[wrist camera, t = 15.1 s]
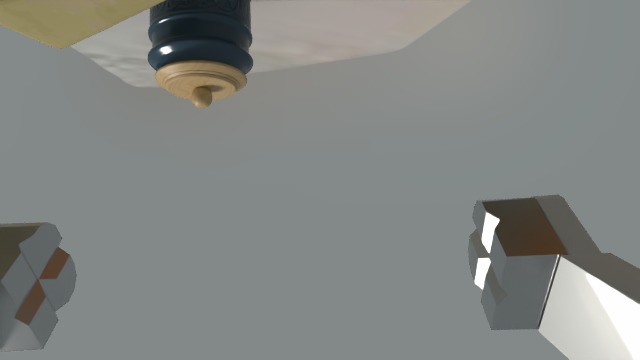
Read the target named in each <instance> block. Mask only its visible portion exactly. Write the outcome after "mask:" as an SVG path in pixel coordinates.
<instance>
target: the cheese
mask: <svg viewBox="0 0 640 360" xmlns="http://www.w3.org/2000/svg"><path fill="white" fill-rule="evenodd" d="M163 1H165V0H0V25H2V26H5V27H7V28H9V29H12V30H14V31H16V32H18V33H21V34H23V35H25V36H28V37H30V38H33V39H35V40H37V41H39V42H42V43H44V44H47V45H49V46H52V47H55V48H60V49H62V48H66V47H69V46H71V45H73V44H75V43H77V42H79V41H81V40H83V39H85V38H88V37H90V36H92V35H94V34H97V33H99V32H101V31H103V30H105V29H107V28H109V27H111V26H113V25H115V24H117V23H119V22H121V21H123V20H125V19H128V18H130V17H132V16H134V15H136V14H138V13H140V12H142V11H144V10H146V9H149V8H151V7H153V6H155V5H157V4H159V3H161V2H163Z"/></svg>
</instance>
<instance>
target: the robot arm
mask: <svg viewBox="0 0 640 360" xmlns="http://www.w3.org/2000/svg"><path fill="white" fill-rule="evenodd" d="M473 220H474V223H475V225H476V228H477V229H476V230H475V231H474V232H473V233H472V234H471V235H470V239H469V248H468V251H469V265H470V269H471V274H472V277H473V280H474V283H475V284H477V285H478V286H479V287H481V288H482V289H483V292H482V298H481V303H482V305H483V308H484V311H485V314H486V317H487V319H488V322H489V324H490V328H491V330H507V329H508V330H509V329H539V332H540V333H541V334H542V335H543V336H544V337H545V338H547V339H548V340H549V341H550V342H551V343H552V344H553V345H554V346H555V347H557V348H558V349H559V350H560V351H561V352H562V353H563V354H564V355H565V356H566V357H567V358H568V359H570V360H640V269H639V268H637V267H635V266H633V265H631V264H629V263H628V262H626V261H624V260H622V259H621V258H619V257H617V256H615V255H613V254H611V253H601V251H600V250H599V248H598V247H597V246H596V244H595V243H594V241H593V240H592V238H591V237H590V236H589V234H588V233H587V231H586V230H585V228H584V227H583V225H582V224H581V223H580V221H579V220H578V218H577V217H576V215H575V214H574V212H573V211H572V210H571V208H570V207H569V205H568V204H567V202H566V201H565V199H564V198H563V197H561V196H560V195H547V196H535V197H530V198H516V199H515V198H514V199H497V200H480V201H477V202H476V204H475V206H474V212H473ZM61 240H62V237H61V236H60V234H59V232H58V230H57V228H56V226H55V225H53V224H50V223H13V224H0V352H9V351H23V350H36V349H43V348H44V346H45V344H46V342H47V341H48V339H49V337H50V335H51V333H52V331H53V329H54V328H55V326H56V324H57V322H58V317H57V314H56V310H58V309H59V308H61V307H62V306H63V305H65V304H66V303H67V302H68V301H69V299H70V297H71V295H72V293H73V291H74V288H75V281H76V271H75V265H74V262H73V260H72V258H71V256H70V255H69V254H68V253H66V252H65V251H64V250H62V249H61V248H59V244H60V242H61Z"/></svg>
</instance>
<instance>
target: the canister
mask: <svg viewBox="0 0 640 360" xmlns="http://www.w3.org/2000/svg"><path fill="white" fill-rule="evenodd" d="M250 2H251V0H165V1H163V2H161V3H159V4H157V5H155V6H153V7H151V8H150V27H149V30H148V36H149V38H150V40H151V42H152V47H153V48H152V49H151V50H150V52H149V54H148V62H149V64H150V65H151V66H152V67H153V68H154V69H155V70H156V73H155V80H156V82H157V83H158V84H159V85H160V86H162V87H163V88H165V89H167V90H168V91H169V92H170V93H172V94H173V95H176V96H178V97H181V98H185V99H191V100H192V102H193V104H194V105H195V106H197V107H199V108H206V107H208V106H209V105H210V104H211V102H212V100H218V99H223V98H227V97H229V96H231V95H233V94H234V93H235V92H236V91H239V90H240V89H242V88H243V87H244V86H245V85H246V83H247V78H246V76H245V74H247V73H248V72H249V71H250V70H251V68H252V66H253V59H252V57H251V55H250V54H249V47H250V46H251V44H252V34H251V17H250Z"/></svg>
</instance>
